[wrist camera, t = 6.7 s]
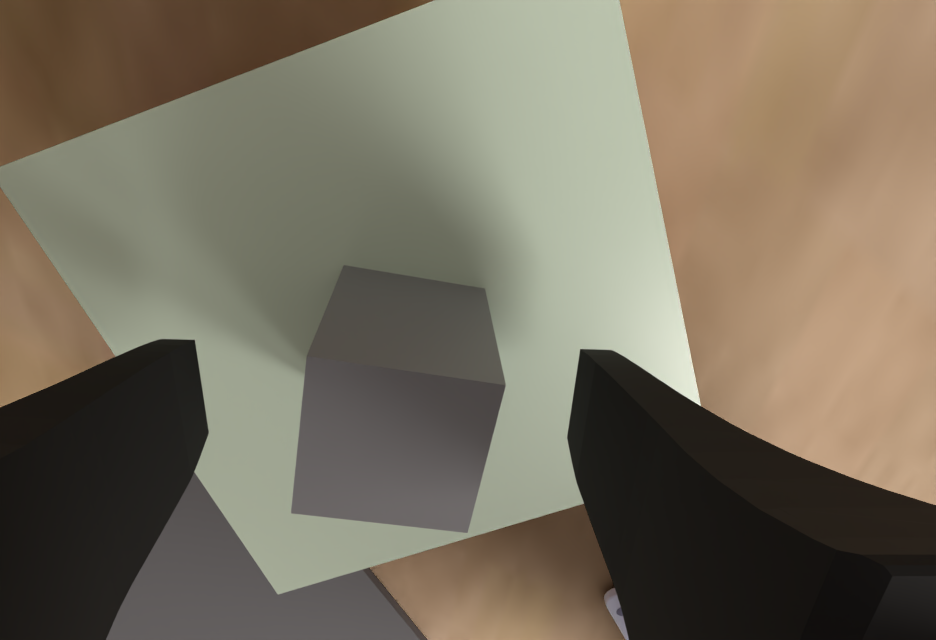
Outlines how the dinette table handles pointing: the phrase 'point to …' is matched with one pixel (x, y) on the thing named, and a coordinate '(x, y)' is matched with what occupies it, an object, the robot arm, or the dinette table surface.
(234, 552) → the mat
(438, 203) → the sheet
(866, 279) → the dinette table surface
